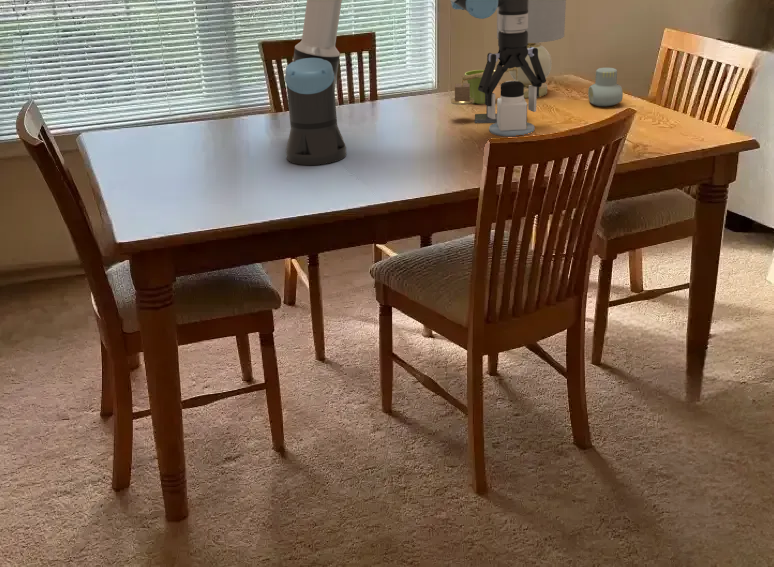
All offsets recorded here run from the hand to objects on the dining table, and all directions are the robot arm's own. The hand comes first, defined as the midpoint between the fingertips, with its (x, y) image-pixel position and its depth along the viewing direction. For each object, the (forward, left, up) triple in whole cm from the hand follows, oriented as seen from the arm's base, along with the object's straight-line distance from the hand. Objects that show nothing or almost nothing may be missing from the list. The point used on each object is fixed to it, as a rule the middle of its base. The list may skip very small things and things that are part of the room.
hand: (512, 114), depth 229 cm
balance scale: (0, +12, -4) cm, 13 cm away
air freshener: (+36, +8, -5) cm, 37 cm away
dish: (0, 0, -4) cm, 4 cm away
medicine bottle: (0, 0, -4) cm, 4 cm away
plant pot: (+8, +31, -5) cm, 32 cm away
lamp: (+25, +31, -5) cm, 40 cm away
